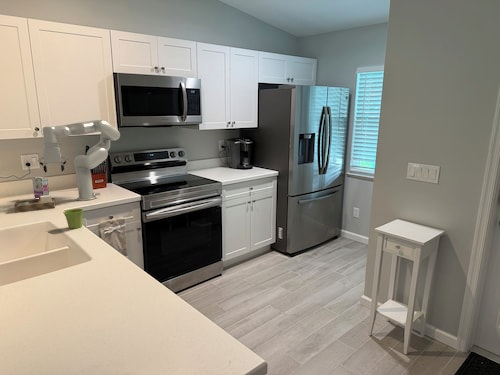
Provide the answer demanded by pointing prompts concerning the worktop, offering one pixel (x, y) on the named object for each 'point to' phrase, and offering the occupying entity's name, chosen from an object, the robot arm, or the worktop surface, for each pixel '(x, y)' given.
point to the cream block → (46, 199)
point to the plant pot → (74, 218)
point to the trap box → (33, 205)
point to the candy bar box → (40, 186)
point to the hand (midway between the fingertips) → (54, 171)
